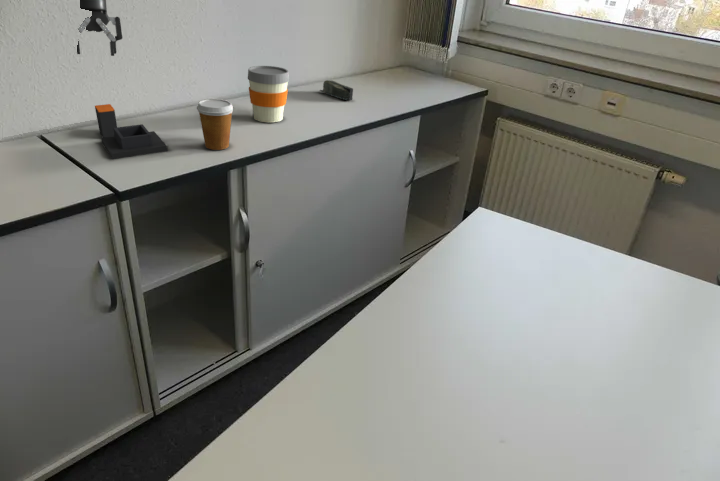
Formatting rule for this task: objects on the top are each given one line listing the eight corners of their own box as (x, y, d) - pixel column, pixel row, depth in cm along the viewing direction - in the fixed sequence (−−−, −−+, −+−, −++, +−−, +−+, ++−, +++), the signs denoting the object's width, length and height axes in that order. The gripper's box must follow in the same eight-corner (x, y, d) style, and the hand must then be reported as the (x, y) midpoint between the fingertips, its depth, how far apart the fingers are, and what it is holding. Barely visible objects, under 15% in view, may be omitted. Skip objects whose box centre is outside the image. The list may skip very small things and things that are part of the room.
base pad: (111, 159, 138) (109, 142, 135) (101, 143, 146) (98, 127, 144) (167, 151, 145) (165, 135, 142) (154, 136, 153) (152, 120, 151)
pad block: (103, 139, 148) (98, 111, 144) (99, 133, 152) (94, 105, 148) (119, 137, 150) (114, 109, 146) (114, 131, 154) (110, 104, 150)
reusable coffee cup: (251, 124, 165) (250, 74, 158) (245, 112, 175) (244, 65, 168) (292, 123, 169) (293, 75, 162) (283, 112, 179) (284, 65, 172)
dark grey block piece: (354, 87, 193) (324, 77, 201) (349, 88, 191) (319, 78, 199) (353, 101, 196) (323, 90, 204) (347, 102, 194) (318, 91, 201)
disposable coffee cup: (240, 149, 149) (239, 106, 143) (206, 154, 144) (204, 109, 138) (226, 138, 156) (225, 97, 150) (194, 142, 151) (191, 99, 145)
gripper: (117, -5, 152) (121, 56, 157) (59, -11, 145) (66, 53, 150) (120, -7, 146) (125, 56, 151) (60, -13, 139) (67, 53, 144)
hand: (95, 55), depth 150 cm, fingers open, 8 cm apart
